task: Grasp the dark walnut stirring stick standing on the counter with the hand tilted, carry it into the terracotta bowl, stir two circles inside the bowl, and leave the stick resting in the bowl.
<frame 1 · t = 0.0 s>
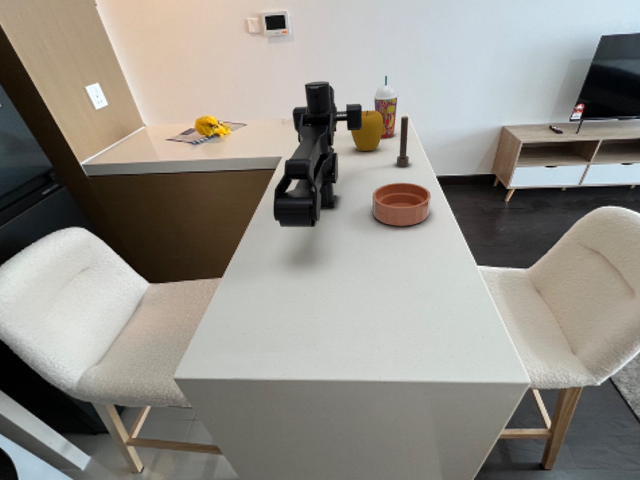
hand: (332, 110, 98), 17 cm above the worktop, tool horizontal, fingers open, 9 cm apart
bowl: (400, 213, 82), on the worktop
smoothie: (385, 136, 129), on the worktop
apple: (367, 150, 119), on the worktop
stick: (402, 165, 105), on the worktop
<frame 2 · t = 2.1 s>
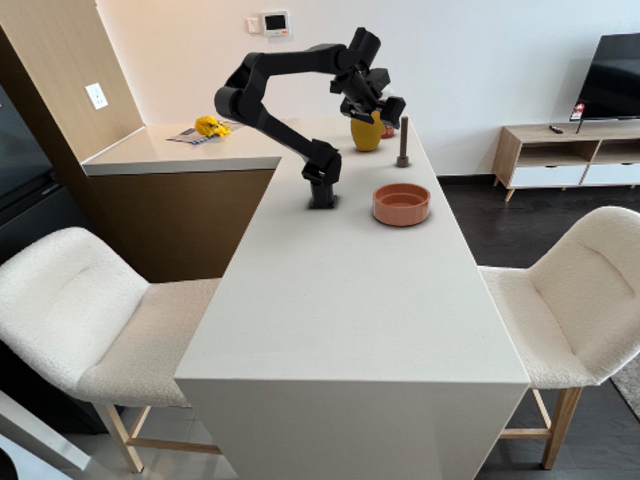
hand: (385, 125, 93), 14 cm above the worktop, tool tilted 45°, fingers open, 9 cm apart
nothing on the worktop moved.
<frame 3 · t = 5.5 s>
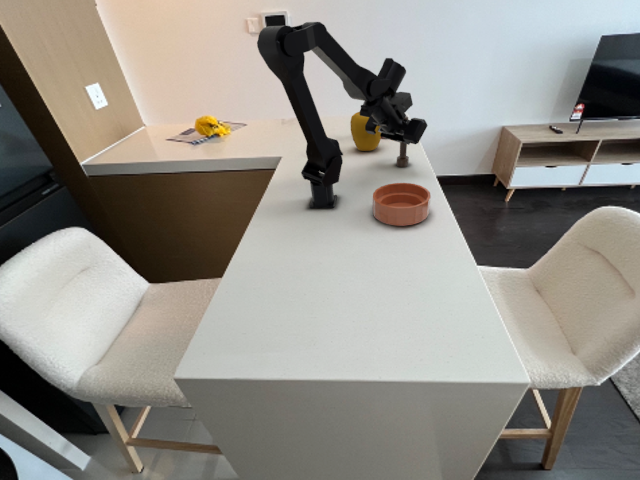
hand: (406, 142, 102), 7 cm above the worktop, tool tilted 45°, fingers closed on stick, 2 cm apart
stick: (402, 165, 105), on the worktop, touching gripper
everything else where it was.
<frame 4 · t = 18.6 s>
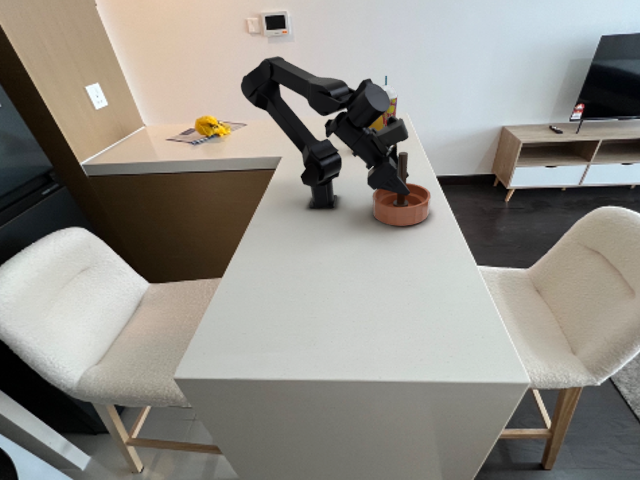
hand: (408, 185, 77), 7 cm above the worktop, tool tilted 45°, fingers open, 9 cm apart
stick: (400, 211, 82), point 1 cm above the worktop, touching bowl
everything else where it was.
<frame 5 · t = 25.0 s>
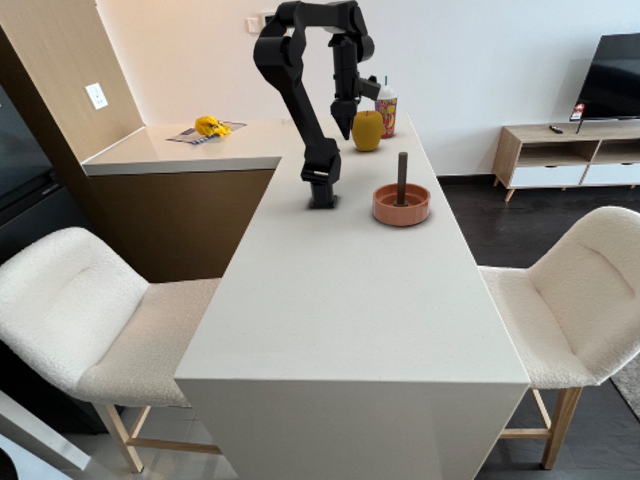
hand: (348, 134, 91), 13 cm above the worktop, tool pointing down, fingers open, 9 cm apart
nothing on the worktop moved.
at the end: stick inside the target area in the bowl (0.1 cm from its centre), point 0.6 cm above the bowl's base; stick tilted 0°; the gripper is holding nothing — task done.
